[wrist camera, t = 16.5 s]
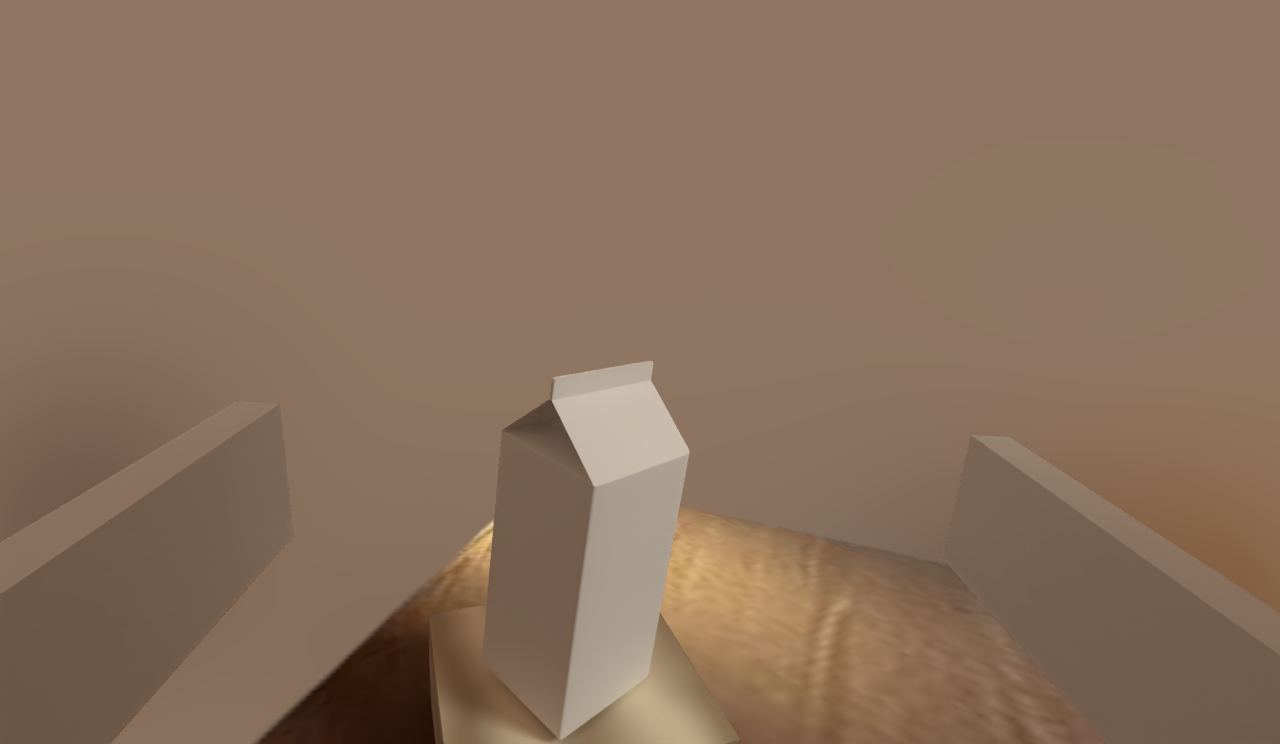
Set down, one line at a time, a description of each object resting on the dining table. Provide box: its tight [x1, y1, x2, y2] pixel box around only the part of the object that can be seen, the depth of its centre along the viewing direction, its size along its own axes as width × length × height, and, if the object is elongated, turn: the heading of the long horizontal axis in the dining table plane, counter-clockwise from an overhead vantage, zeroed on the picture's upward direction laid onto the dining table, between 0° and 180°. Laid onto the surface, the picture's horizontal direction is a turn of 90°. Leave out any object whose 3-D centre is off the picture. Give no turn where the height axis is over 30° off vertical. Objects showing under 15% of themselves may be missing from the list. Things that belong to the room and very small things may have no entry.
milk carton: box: [482, 361, 690, 740], centre depth 35 cm, size 7×7×19 cm
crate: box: [429, 605, 740, 744], centre depth 39 cm, size 15×15×7 cm
